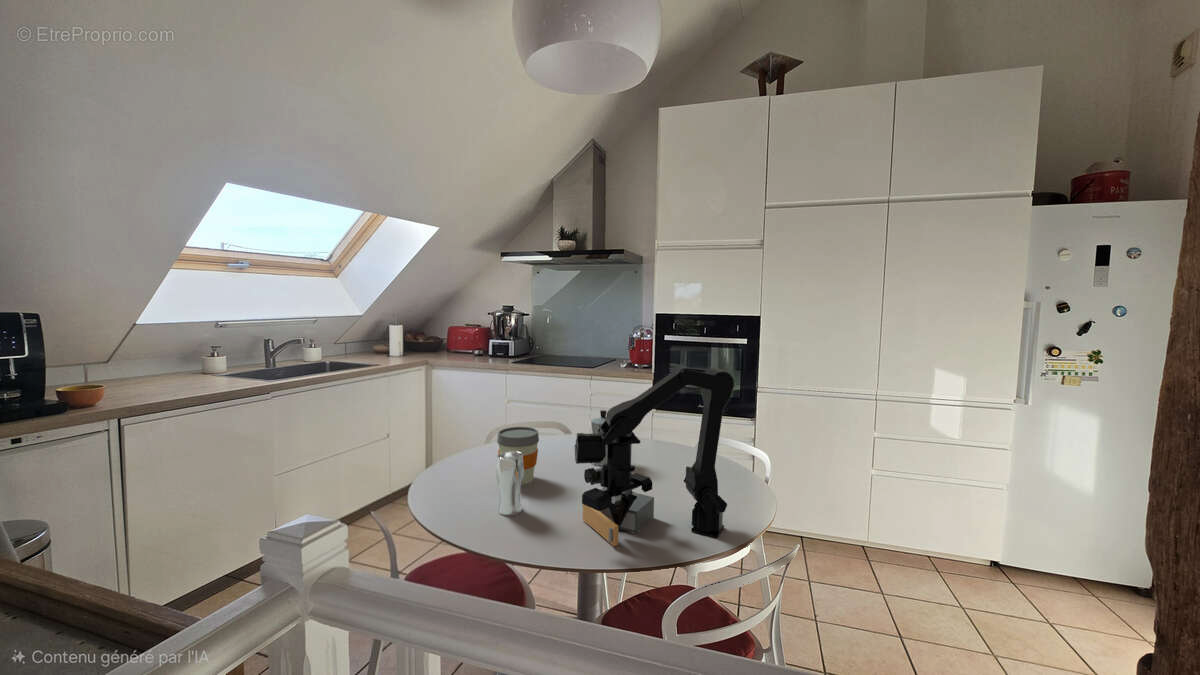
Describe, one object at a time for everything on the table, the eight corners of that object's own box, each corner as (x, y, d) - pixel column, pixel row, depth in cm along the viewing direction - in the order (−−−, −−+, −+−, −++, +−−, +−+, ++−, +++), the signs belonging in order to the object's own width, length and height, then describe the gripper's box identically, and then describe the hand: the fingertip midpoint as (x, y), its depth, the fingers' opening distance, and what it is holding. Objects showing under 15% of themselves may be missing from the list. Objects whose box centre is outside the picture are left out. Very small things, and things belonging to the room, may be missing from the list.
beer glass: (511, 502, 134) (511, 449, 133) (528, 510, 130) (529, 454, 128) (491, 511, 129) (490, 455, 127) (508, 519, 124) (508, 461, 123)
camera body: (656, 514, 128) (657, 492, 127) (636, 534, 117) (636, 509, 117) (609, 502, 135) (609, 481, 134) (586, 520, 124) (586, 496, 124)
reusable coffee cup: (517, 491, 142) (517, 440, 141) (488, 480, 149) (488, 432, 148) (547, 478, 152) (547, 431, 151) (519, 469, 159) (519, 424, 158)
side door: (617, 545, 111) (618, 525, 111) (611, 546, 110) (612, 527, 110) (586, 518, 124) (586, 501, 124) (580, 520, 123) (580, 502, 123)
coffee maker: (583, 458, 171) (584, 407, 170) (606, 455, 175) (606, 405, 174) (601, 472, 158) (602, 417, 156) (625, 468, 162) (626, 415, 160)
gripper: (620, 445, 127) (619, 503, 128) (566, 461, 114) (565, 526, 115) (654, 455, 119) (652, 517, 121) (600, 474, 106) (598, 544, 107)
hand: (617, 525), depth 116 cm, fingers closed
